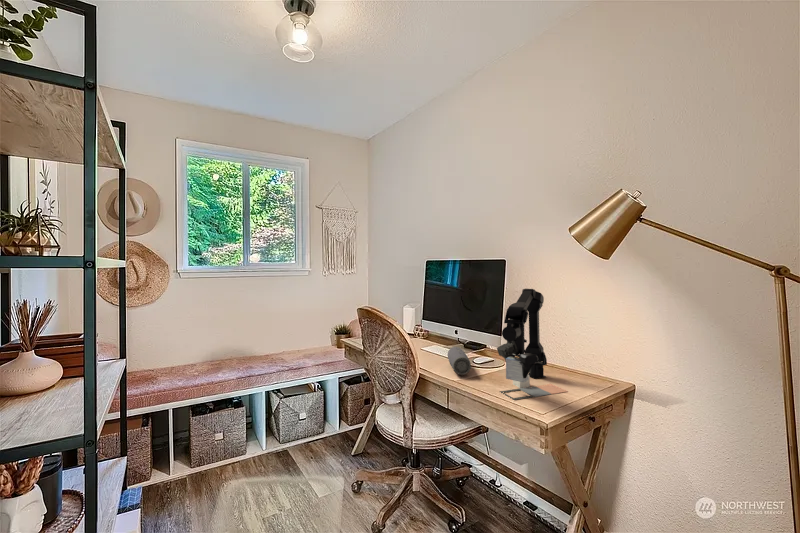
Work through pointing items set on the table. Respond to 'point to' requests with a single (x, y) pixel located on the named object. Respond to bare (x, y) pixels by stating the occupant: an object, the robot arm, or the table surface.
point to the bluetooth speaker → (459, 360)
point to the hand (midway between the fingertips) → (517, 374)
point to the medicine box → (514, 369)
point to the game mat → (537, 391)
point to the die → (522, 383)
